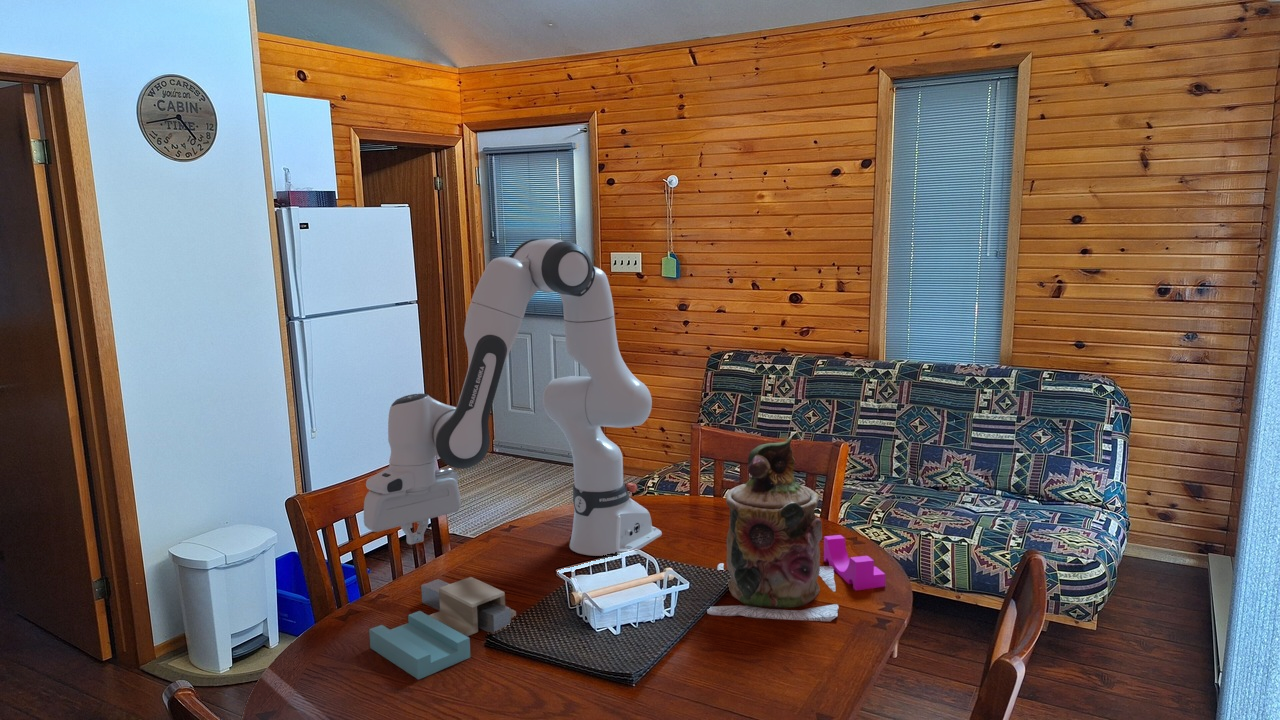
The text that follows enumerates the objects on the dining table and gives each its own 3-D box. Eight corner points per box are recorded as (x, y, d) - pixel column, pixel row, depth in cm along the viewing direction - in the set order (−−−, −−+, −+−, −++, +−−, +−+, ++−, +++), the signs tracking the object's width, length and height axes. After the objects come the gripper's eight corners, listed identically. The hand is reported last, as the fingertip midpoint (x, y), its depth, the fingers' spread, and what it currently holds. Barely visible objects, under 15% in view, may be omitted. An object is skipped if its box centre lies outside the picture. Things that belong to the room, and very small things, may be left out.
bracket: (482, 600, 164) (481, 573, 164) (516, 616, 157) (515, 588, 156) (429, 620, 156) (427, 591, 155) (462, 638, 148) (460, 608, 148)
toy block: (885, 595, 163) (885, 559, 162) (855, 599, 162) (856, 562, 161) (851, 567, 178) (851, 533, 177) (823, 570, 177) (824, 536, 175)
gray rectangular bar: (439, 597, 167) (438, 578, 166) (511, 628, 153) (510, 607, 152) (422, 604, 164) (421, 585, 163) (494, 636, 150) (493, 615, 149)
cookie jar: (717, 569, 178) (715, 423, 174) (834, 575, 173) (836, 425, 169) (704, 620, 154) (702, 452, 150) (840, 628, 149) (842, 455, 145)
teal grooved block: (420, 628, 152) (419, 610, 152) (470, 657, 141) (469, 637, 141) (370, 648, 145) (369, 629, 145) (418, 679, 134) (417, 659, 134)
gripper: (448, 464, 175) (450, 527, 177) (358, 482, 160) (361, 551, 162) (465, 468, 171) (467, 533, 172) (374, 487, 156) (377, 558, 158)
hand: (415, 542), depth 167 cm, fingers closed
